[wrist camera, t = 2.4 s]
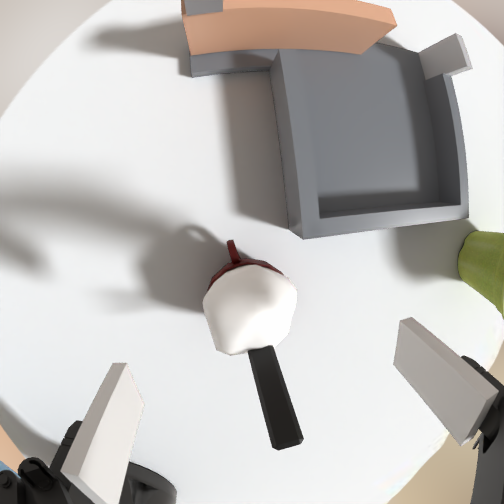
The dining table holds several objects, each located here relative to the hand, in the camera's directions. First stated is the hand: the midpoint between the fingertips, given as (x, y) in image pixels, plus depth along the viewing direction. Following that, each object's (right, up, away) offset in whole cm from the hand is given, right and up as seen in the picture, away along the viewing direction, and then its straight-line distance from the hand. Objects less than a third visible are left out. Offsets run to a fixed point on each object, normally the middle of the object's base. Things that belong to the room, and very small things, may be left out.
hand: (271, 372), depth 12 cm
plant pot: (+24, +5, +13) cm, 28 cm away
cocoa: (-1, +2, +11) cm, 11 cm away
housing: (+6, +16, +8) cm, 19 cm away
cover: (+1, +22, +5) cm, 22 cm away
